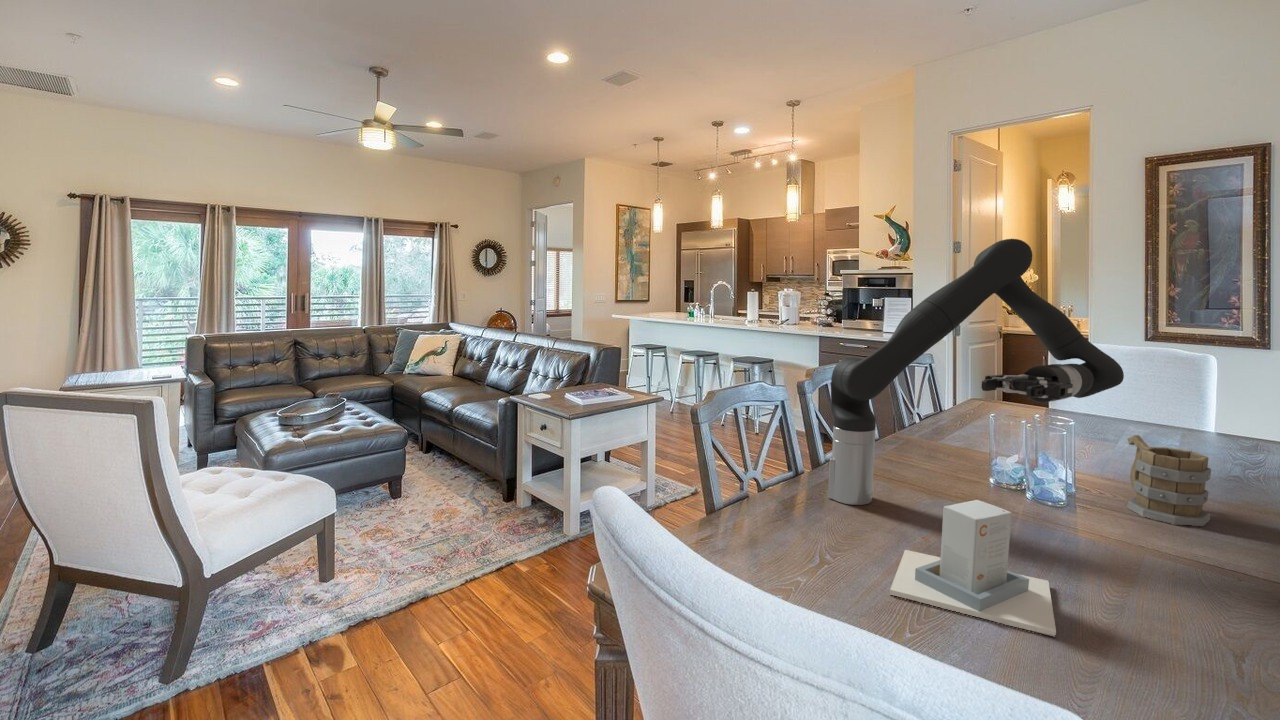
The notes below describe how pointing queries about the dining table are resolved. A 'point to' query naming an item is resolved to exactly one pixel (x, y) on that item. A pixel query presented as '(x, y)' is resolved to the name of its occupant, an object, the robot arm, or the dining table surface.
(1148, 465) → the tankard
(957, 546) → the small box
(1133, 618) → the dining table surface
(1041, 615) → the jig cradle
